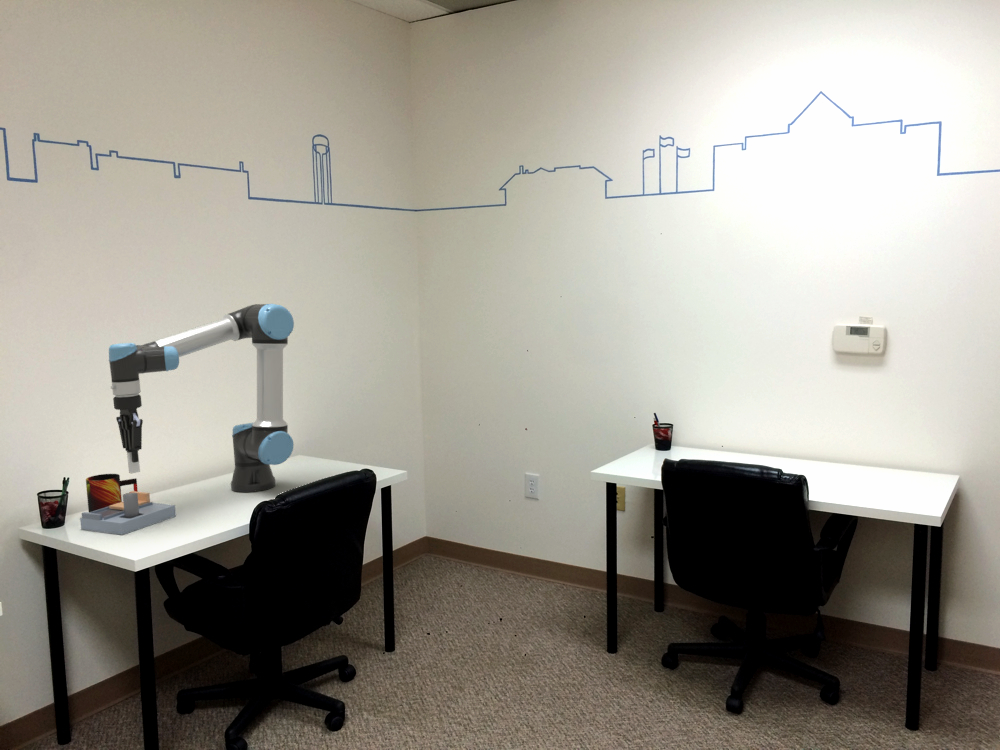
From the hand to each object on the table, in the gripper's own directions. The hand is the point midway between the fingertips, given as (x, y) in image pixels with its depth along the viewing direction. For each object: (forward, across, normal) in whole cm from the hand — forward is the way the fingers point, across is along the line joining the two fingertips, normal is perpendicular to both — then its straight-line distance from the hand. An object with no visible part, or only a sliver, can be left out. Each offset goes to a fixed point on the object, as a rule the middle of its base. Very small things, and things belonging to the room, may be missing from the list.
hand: (134, 472), depth 240 cm
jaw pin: (+16, +2, -3) cm, 16 cm away
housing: (+16, -3, -2) cm, 16 cm away
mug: (+16, -20, 0) cm, 25 cm away
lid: (+12, -8, +1) cm, 14 cm away
